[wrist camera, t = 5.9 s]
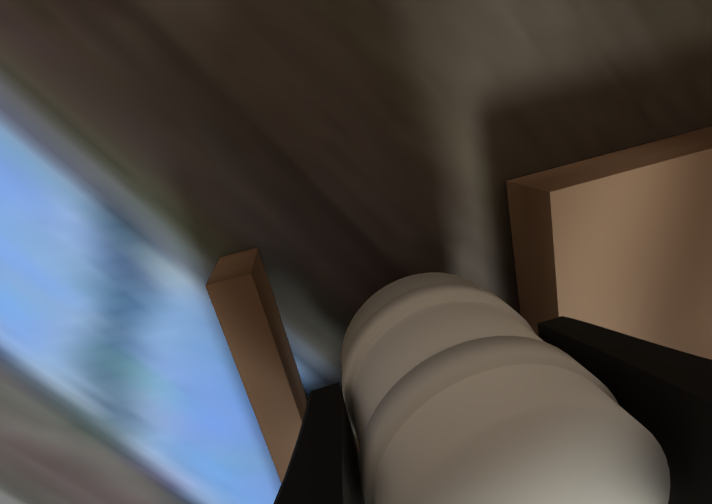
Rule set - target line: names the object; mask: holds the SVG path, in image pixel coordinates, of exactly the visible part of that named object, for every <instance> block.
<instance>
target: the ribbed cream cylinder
mask: <svg viewBox="0 0 712 504" xmlns="http://www.w3.org/2000/svg"><path fill="white" fill-rule="evenodd" d="M341 366H342V392H343V397H344V402H345V406H346V410H347V413H348V417H349V420H350V423H351V427H352V430H353V433H354V435H355V436H356V438H357V440H358V445H359V449H360V453H359V476H360V481H361V486H362V491H363V495H364V500H365V504H668V501H669V495H670V471H669V467H668V463H667V459H666V456H665V454H664V452H663V450H662V448H661V445H660V444H659V443H658V441H657V440H656V439H655V437H654V436H653V434H652V433H650V432H649V431H648V430H647V429H646V428H645V427H644V426H643V425H642V424H641V423H639V422H638V421H637V420H636V419H635V418H634V417H632V416H631V415H630V414H629V413H628V412H626V411H625V410H624V409H623V408H622V407H621V406H619V405H618V402H617V400H616V399H615V397H614V396H613V395H612V393H611V392H610V390H609V389H608V388H607V387H606V386H605V385H604V384H603V383H602V382H601V381H600V380H599V379H597V378H596V377H595V376H594V375H593V374H591V373H590V372H589V371H588V370H587V369H585V368H584V367H583V366H582V365H580V364H579V363H578V362H577V361H576V360H574V359H573V358H572V357H571V356H570V355H568V354H567V353H565V352H564V351H562V350H560V349H559V348H557V347H555V346H553V345H551V344H548V343H546V342H544V341H543V340H542V339H541V338H539V337H538V336H537V335H536V334H535V332H534V331H533V329H532V328H531V326H530V325H529V324H528V322H527V321H526V320H525V319H524V318H523V317H522V316H521V315H519V314H518V313H517V312H516V311H515V310H514V309H512V308H511V307H510V306H509V305H508V304H506V303H505V302H504V301H503V300H502V299H500V298H499V297H497V296H496V295H494V294H493V293H491V292H489V291H486V290H484V289H482V288H481V287H479V286H478V285H476V284H475V283H473V282H472V281H470V280H467V279H465V278H463V277H460V276H457V275H453V274H448V273H441V272H428V273H419V274H415V275H411V276H407V277H404V278H401V279H399V280H396V281H394V282H392V283H390V284H388V285H386V286H385V287H383V288H382V289H380V290H379V291H377V292H376V293H375V294H374V295H372V296H371V297H370V298H369V299H368V300H367V301H366V302H365V303H364V304H363V305H362V306H361V307H360V308H359V310H358V311H357V313H356V314H355V315H354V317H353V318H352V320H351V322H350V324H349V326H348V328H347V331H346V333H345V336H344V340H343V344H342V350H341Z"/></svg>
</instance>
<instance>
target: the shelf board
mask: <svg viewBox="0 0 712 504" xmlns="http://www.w3.org/2000/svg"><path fill="white" fill-rule="evenodd" d="M506 186H507V196H508V205H509V214H510V223H511V233H512V242H513V251H514V261H515V270H516V279H517V289H518V298H519V307H520V315H521V316H522V317H523V318H524V319H525V320H526V321H527V322H528V324H529V325H530V326H531V328H532V329H533V331H534V332H535V334H536V335H537V336H538V337H539V335H538V325H537V323H540V322H544V321H547V320H551V319H554V318H557V317H561V316H564V317H569V318H573V319H576V320H580V321H584V322H587V323H590V324H594V325H597V326H600V327H604V328H607V329H610V330H613V331H617V332H620V333H623V334H626V335H629V336H633V337H636V338H639V339H642V340H646V341H649V342H652V343H655V344H659V345H662V346H665V347H669V348H672V349H675V350H679V351H682V352H686V353H689V354H693V355H696V356H700V357H703V358H707V359H711V360H712V126H710V127H706V128H703V129H699V130H695V131H691V132H688V133H684V134H680V135H676V136H673V137H669V138H665V139H661V140H658V141H654V142H650V143H646V144H643V145H639V146H635V147H631V148H628V149H624V150H620V151H616V152H613V153H609V154H605V155H601V156H598V157H594V158H590V159H586V160H583V161H579V162H575V163H571V164H568V165H564V166H560V167H556V168H553V169H549V170H545V171H541V172H538V173H534V174H530V175H526V176H523V177H519V178H515V179H511V180H508V181H506ZM206 289H207V291H208V294H209V296H210V299H211V302H212V304H213V307H214V309H215V312H216V315H217V317H218V320H219V322H220V325H221V328H222V330H223V333H224V335H225V338H226V341H227V343H228V346H229V348H230V351H231V353H232V356H233V359H234V361H235V364H236V366H237V369H238V372H239V374H240V377H241V379H242V382H243V385H244V387H245V390H246V392H247V395H248V398H249V400H250V403H251V405H252V408H253V411H254V413H255V416H256V418H257V421H258V423H259V426H260V429H261V431H262V434H263V436H264V439H265V442H266V444H267V447H268V449H269V452H270V455H271V457H272V460H273V462H274V465H275V468H276V470H277V473H278V475H279V478H280V481H281V483H282V482H283V479H284V476H285V474H286V471H287V468H288V465H289V462H290V459H291V456H292V453H293V450H294V447H295V445H296V442H297V438H298V435H299V432H300V428H301V425H302V421H303V417H304V414H305V409H306V405H307V400H308V399H307V396H306V393H305V390H304V387H303V384H302V381H301V378H300V375H299V372H298V369H297V366H296V363H295V360H294V357H293V354H292V351H291V348H290V345H289V341H288V338H287V335H286V332H285V329H284V326H283V323H282V320H281V317H280V314H279V311H278V308H277V305H276V302H275V299H274V296H273V293H272V290H271V287H270V284H269V280H268V277H267V274H266V271H265V268H264V265H263V262H262V259H261V256H260V253H259V250H258V247H257V248H253V249H249V250H245V251H242V252H238V253H234V254H230V255H227V256H223V257H220V258H219V260H218V262H217V264H216V266H215V268H214V270H213V272H212V274H211V276H210V278H209V280H208V282H207V284H206ZM354 437H355V440H356V443H357V447H358V450H359V453H360V449H359V445H358V440H357V438H356V436H355V435H354Z"/></svg>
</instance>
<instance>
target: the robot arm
mask: <svg viewBox="0 0 712 504" xmlns="http://www.w3.org/2000/svg"><path fill="white" fill-rule="evenodd" d="M537 325H538V335H539V338H541V339H542V340H543V341H544V342H546V343H548V344H551V345H553V346H555V347H557V348H559V349H560V350H562V351H564V352H565V353H567V354H568V355H570V356H571V357H572V358H573V359H574V360H576V361H577V362H578V363H579V364H580V365H582V366H583V367H584V368H585V369H587V370H588V371H589V372H590V373H591V374H593V375H594V376H595V377H596V378H597V379H599V380H600V381H601V382H602V383H603V384H604V385H605V386H606V387H607V388H608V389H609V390H610V392H611V393H612V395H613V396H614V397H615V399H616V400H617V402H618V405H619V406H621V407H622V408H623V409H624V410H625V411H626V412H628V413H629V414H630V415H631V416H632V417H634V418H635V419H636V420H637V421H638V422H639V423H641V424H642V425H643V426H644V427H645V428H646V429H647V430H648V431H649V432H650V433H652V434H653V436H654V437H655V439H656V440H657V441H658V443H659V444H660V445H661V448H662V450H663V452H664V454H665V456H666V459H667V463H668V467H669V471H670V495H669V501H668V504H712V360H711V359H707V358H703V357H700V356H696V355H693V354H689V353H686V352H682V351H679V350H675V349H672V348H669V347H665V346H662V345H659V344H655V343H652V342H649V341H646V340H642V339H639V338H636V337H633V336H629V335H626V334H623V333H620V332H617V331H613V330H610V329H607V328H604V327H600V326H597V325H594V324H590V323H587V322H584V321H580V320H576V319H573V318H569V317H564V316H561V317H557V318H554V319H551V320H547V321H544V322H540V323H537ZM274 504H365V500H364V495H363V491H362V486H361V481H360V476H359V450H358V447H357V443H356V440H355V437H354V433H353V430H352V427H351V423H350V420H349V417H348V413H347V410H346V406H345V402H344V399H343V395H342V392H341V389H340V385H339V383H336V384H333V385H330V386H326V387H323V388H320V389H316V390H313V391H311V393H310V395H309V396H308V400H307V405H306V409H305V414H304V417H303V421H302V425H301V428H300V432H299V435H298V438H297V442H296V445H295V447H294V450H293V453H292V456H291V459H290V462H289V465H288V468H287V471H286V474H285V476H284V479H283V482H282V484H281V487H280V489H279V492H278V494H277V497H276V499H275V501H274Z"/></svg>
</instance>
